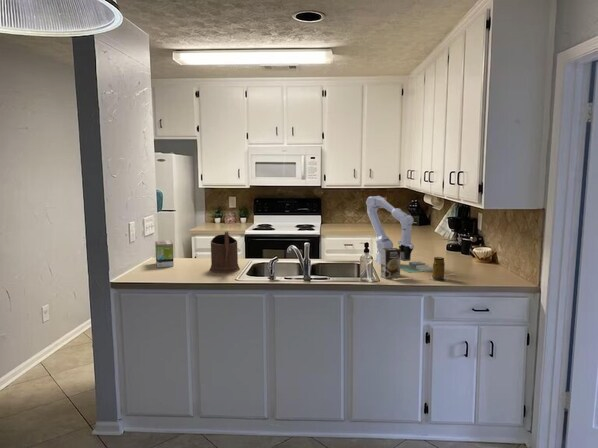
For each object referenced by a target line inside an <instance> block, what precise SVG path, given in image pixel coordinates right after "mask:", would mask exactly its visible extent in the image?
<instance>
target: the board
mask: <svg viewBox="0 0 598 448" xmlns="http://www.w3.org/2000/svg"><path fill="white" fill-rule="evenodd" d="M400 271H404V272H406V273H409V274H414V273H423V272H424V273H427V272H433V265H429V264H425V265H417V266H416V268H415V267H412V266H410V265H409V264H408V265H400Z"/></svg>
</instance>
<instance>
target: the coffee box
mask: <svg viewBox="0 0 598 448" xmlns="http://www.w3.org/2000/svg"><path fill="white" fill-rule="evenodd" d="M401 261H402V260H401V249H399V247H393V248H382V251H381V265H380V277H382V278H383V279H386V280H389V279H392V278H394V277H395V278H397V277H400V276H401V269H400V266H401Z"/></svg>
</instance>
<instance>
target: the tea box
mask: <svg viewBox="0 0 598 448" xmlns="http://www.w3.org/2000/svg"><path fill="white" fill-rule="evenodd" d="M154 243H155V245H154V246H155V264H156V266H157V268H171V267H174V265H175V264H174V263H175V262H174V243H173V241H172V240H157V241H154Z"/></svg>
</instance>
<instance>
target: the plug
mask: <svg viewBox="0 0 598 448" xmlns="http://www.w3.org/2000/svg"><path fill="white" fill-rule="evenodd" d="M411 255H412V253H411V254H410V258H409V259H405V252H401V260H400V261H403V262H411V260H412V259H411Z"/></svg>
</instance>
